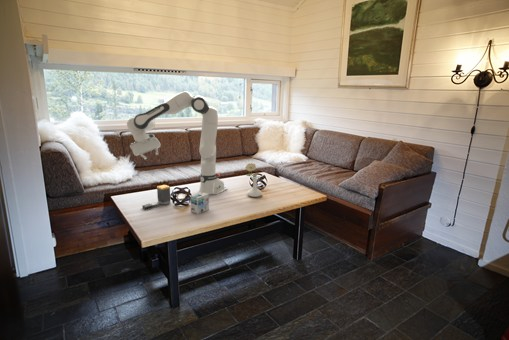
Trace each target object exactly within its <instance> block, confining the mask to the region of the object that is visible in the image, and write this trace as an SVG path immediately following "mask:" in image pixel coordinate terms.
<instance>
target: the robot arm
mask: <svg viewBox="0 0 509 340" xmlns="http://www.w3.org/2000/svg"><path fill="white" fill-rule="evenodd" d="M187 108H191V109H193V111H194V112H196V113H199V114H201V116H202V120H201V121H202V122H201V132H200V133H201V135H200V140H199V142H200V143H199V148H198V149H199V150H198V151H199V154H200V157H201V158H200V174H199V176H200V177H199V178H200V185H199V191H198V193H200V192H204V193H207V194H209V195H218V194H221V193H222V192H225V191H227V190H228V187H226V186H225V183H224V181H223V180H221V179H220V178H219V177H220V175H221V174H220V173H216V170H217V169H216V162H217V161H216V160H217V144H216V142H217V134H218V123H219V121H218V120H219V118H218V117H219V116H218V109H217V108H215V107H213V106H209V105H208V101H207V99H206V97H204V96H202V95H195V96H193V95H192V94H191V93H190V92H189V91H187V90H185V91H182V92H178V93H177V94H175V95H174V96H172V97H171V98H169V99H168V100H166V101H164V102H163V103H161V104H159V105H157V106H155V107H154V108H151V109H149V110H148V111H146V112H141V113H138V114H136V115H135V116H134V117H132V118H130V119H129V120H128V121H127V122H126V126H127V129H128V130H129V133H130V134H131V136H133V139H134V142H131V143H130V144H129V148H130V149H131V151H132V153H133V155H134V156H135V157H137V156H140V157H141V158H143V159H144V160H147V159H148V157H147V155H144V154H146V153H148V152H152V151H155V156H157V155H160V154H159V148H161V146H162V144H161V142H160V140H159V139H158V138H157V137H155V134H154V133H153V134H152V133H151V134H150V133H147V132H150V131H152V130H154V129H155V127H156V122H155V119H157V118H158V117H160V116H163V115H177V114H179V113H181V112H183V110H185V109H187Z"/></svg>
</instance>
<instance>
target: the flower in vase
mask: <svg viewBox="0 0 509 340" xmlns="http://www.w3.org/2000/svg"><path fill="white" fill-rule="evenodd" d="M256 168H257V166H256V163H254V162H250V163H248V164H246V166H245V170H246V171H248V172H250V173H247V174H246V176H247V177H251V180H252V188H250V189H249V190H247V192H246V194H247V196H248V197H252V198H258V197H261V196H262V194H263V192H262V191H261V190H260V189H259V188H258V187H257V181H258V180H259V177H258V175H259V173H254V174H253V173H252V171H255V169H256Z"/></svg>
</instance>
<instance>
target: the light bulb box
mask: <svg viewBox="0 0 509 340" xmlns="http://www.w3.org/2000/svg"><path fill="white" fill-rule="evenodd" d="M208 210H210V194H207V193H204V192H198V193H195V194H193V195H190V212H192V213H194V214H197V215H199V214H201V213H203V212H206V211H208Z"/></svg>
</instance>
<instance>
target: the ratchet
mask: <svg viewBox="0 0 509 340" xmlns="http://www.w3.org/2000/svg"><path fill="white" fill-rule="evenodd" d="M170 204H171V200H170V201H167V202H164V203H162V202H160V201H158V200H157V202H153V203H146V204H143V205H142V209H143V210H145V211H146V210H151V209H153V208H157V207H160V206H167V205H170Z"/></svg>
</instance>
